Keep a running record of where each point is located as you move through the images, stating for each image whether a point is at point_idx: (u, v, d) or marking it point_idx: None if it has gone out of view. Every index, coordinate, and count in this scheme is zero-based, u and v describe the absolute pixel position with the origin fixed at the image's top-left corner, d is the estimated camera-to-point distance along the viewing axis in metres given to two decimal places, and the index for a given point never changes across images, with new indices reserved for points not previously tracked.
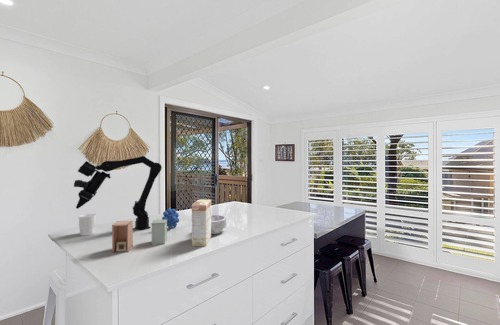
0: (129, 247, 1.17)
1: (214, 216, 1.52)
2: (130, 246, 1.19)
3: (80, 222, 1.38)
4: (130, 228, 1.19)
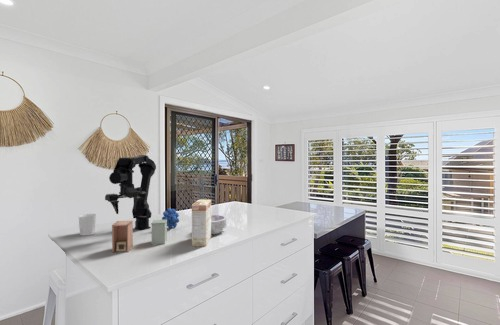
0: (129, 247, 1.17)
1: (214, 216, 1.52)
2: (130, 246, 1.19)
3: (80, 222, 1.38)
4: (130, 228, 1.19)
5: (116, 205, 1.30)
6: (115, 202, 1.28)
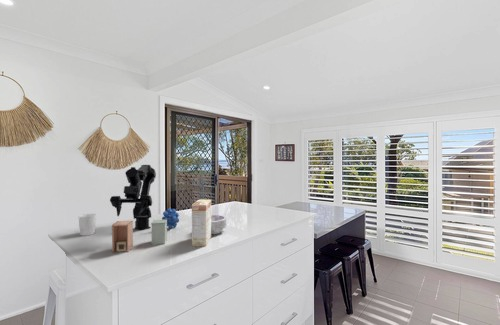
0: (129, 247, 1.17)
1: (214, 216, 1.52)
2: (130, 246, 1.19)
3: (80, 222, 1.38)
4: (130, 228, 1.19)
5: (117, 206, 1.27)
6: (115, 202, 1.27)
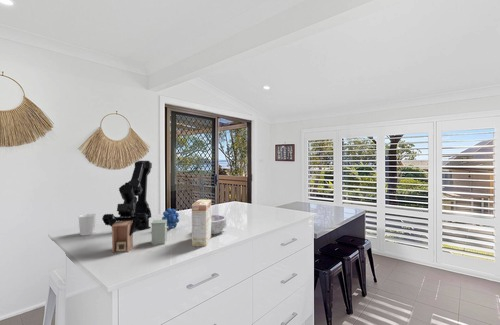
0: (129, 247, 1.17)
1: (214, 216, 1.52)
2: (130, 246, 1.19)
3: (80, 222, 1.38)
4: (130, 228, 1.19)
5: None
6: (110, 220, 1.18)
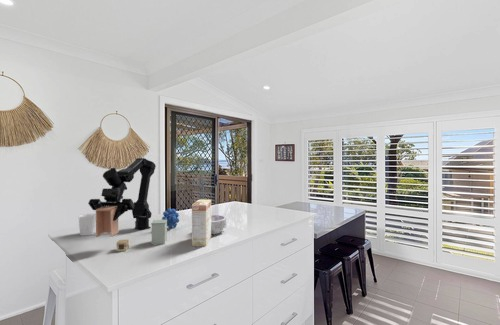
0: (113, 232, 1.16)
1: (214, 216, 1.52)
2: (114, 231, 1.18)
3: (80, 222, 1.38)
4: (114, 213, 1.18)
5: None
6: (96, 205, 1.19)
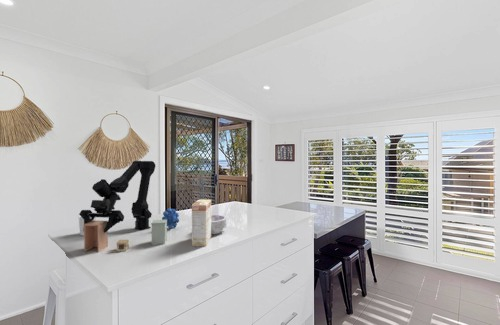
0: (101, 247, 1.17)
1: (214, 216, 1.52)
2: (103, 246, 1.18)
3: (80, 222, 1.38)
4: (103, 228, 1.18)
5: (85, 221, 1.20)
6: (83, 216, 1.20)
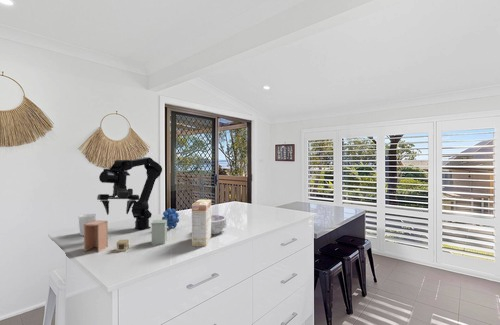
0: (101, 247, 1.17)
1: (214, 216, 1.52)
2: (103, 246, 1.18)
3: (80, 222, 1.38)
4: (103, 228, 1.18)
5: (107, 205, 1.31)
6: (105, 202, 1.30)
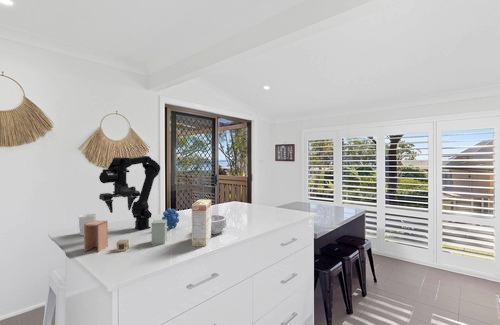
0: (101, 247, 1.17)
1: (214, 216, 1.52)
2: (103, 246, 1.18)
3: (80, 222, 1.38)
4: (103, 228, 1.18)
5: (110, 204, 1.32)
6: (109, 201, 1.30)
